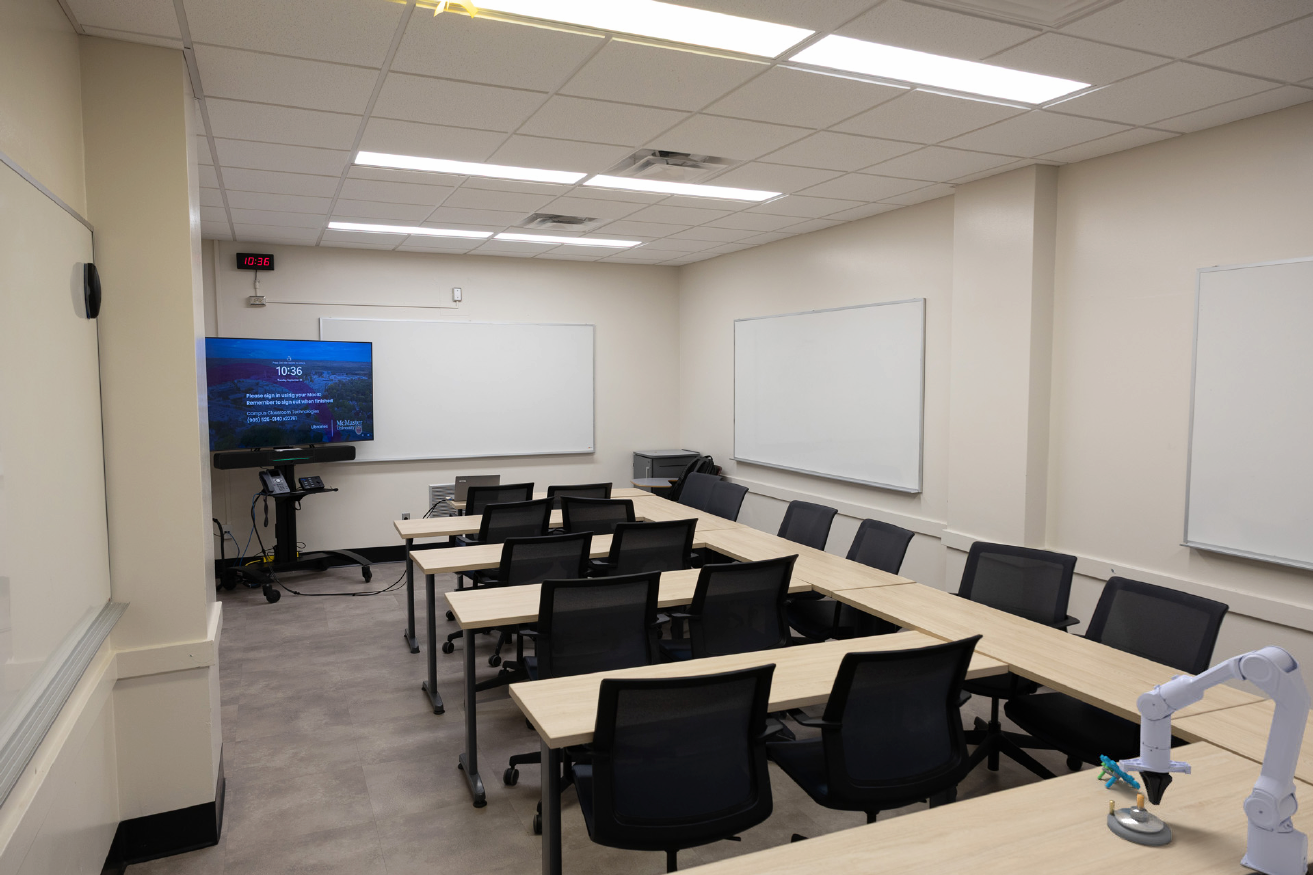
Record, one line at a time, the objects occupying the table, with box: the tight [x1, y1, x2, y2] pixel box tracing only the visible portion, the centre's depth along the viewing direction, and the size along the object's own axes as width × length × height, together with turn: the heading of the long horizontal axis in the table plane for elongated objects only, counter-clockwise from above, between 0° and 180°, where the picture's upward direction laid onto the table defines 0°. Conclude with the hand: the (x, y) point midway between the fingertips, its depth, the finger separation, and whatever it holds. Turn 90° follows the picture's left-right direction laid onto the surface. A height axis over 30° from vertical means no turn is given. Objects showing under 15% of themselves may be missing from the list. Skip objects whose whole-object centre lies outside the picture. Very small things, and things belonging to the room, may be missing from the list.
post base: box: [1106, 799, 1172, 847], centre depth 171 cm, size 12×12×4 cm
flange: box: [1115, 793, 1164, 833], centre depth 172 cm, size 11×9×4 cm
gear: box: [1096, 754, 1141, 790], centre depth 191 cm, size 11×6×10 cm
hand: (1154, 802), depth 176 cm, fingers closed
